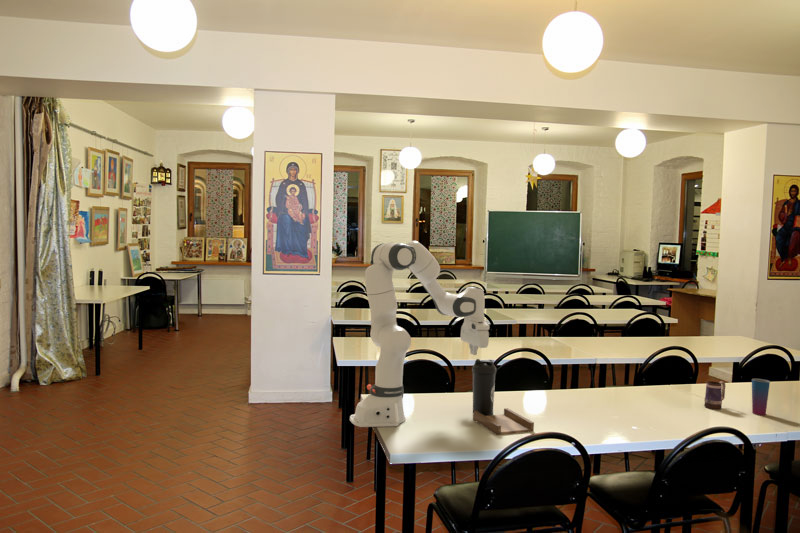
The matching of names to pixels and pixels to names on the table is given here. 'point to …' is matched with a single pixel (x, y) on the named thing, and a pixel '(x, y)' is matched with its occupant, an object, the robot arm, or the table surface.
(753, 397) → the cup
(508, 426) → the cradle
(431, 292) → the robot arm
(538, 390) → the table surface
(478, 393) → the water bottle
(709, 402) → the mug
